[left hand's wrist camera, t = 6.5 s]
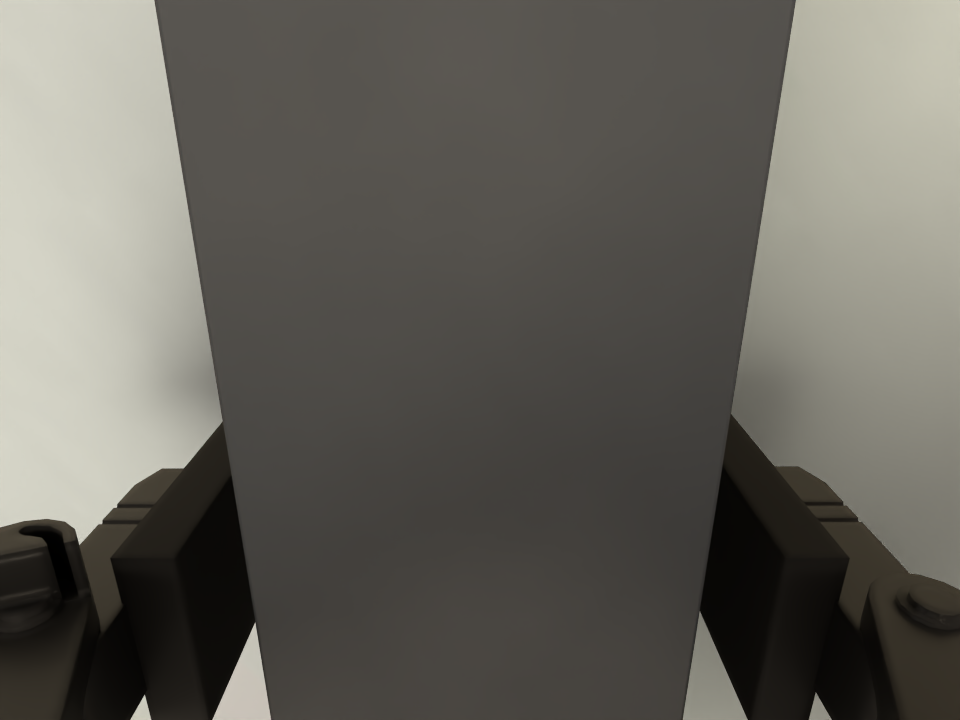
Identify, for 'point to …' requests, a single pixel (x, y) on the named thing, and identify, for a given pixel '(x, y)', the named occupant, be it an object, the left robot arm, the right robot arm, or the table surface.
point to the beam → (475, 333)
